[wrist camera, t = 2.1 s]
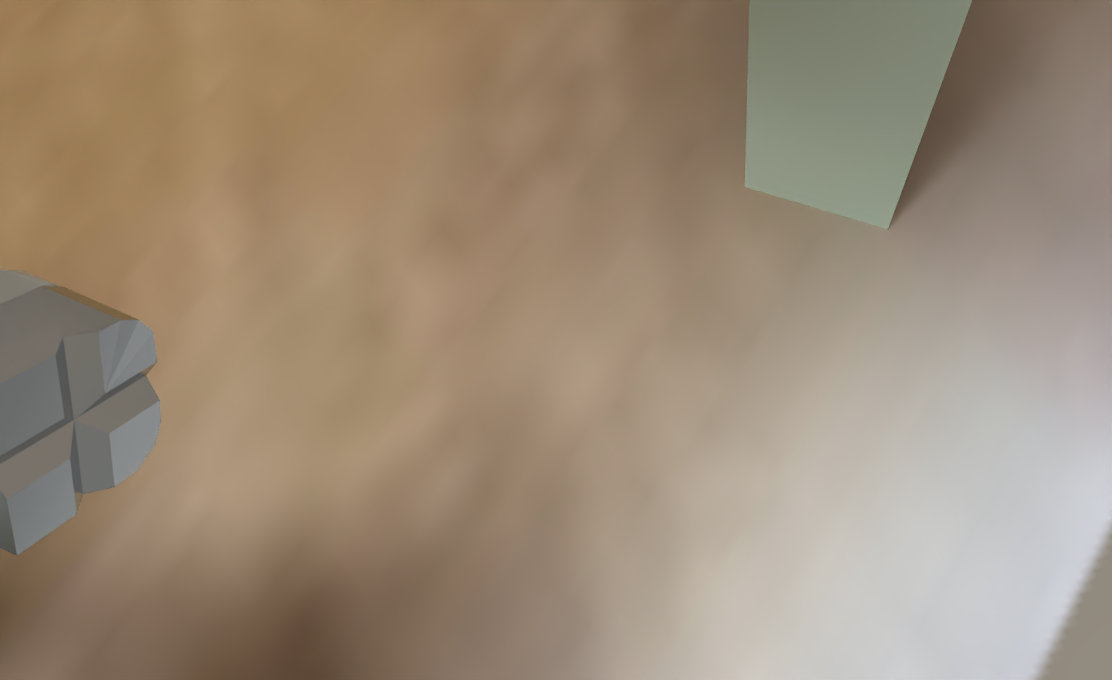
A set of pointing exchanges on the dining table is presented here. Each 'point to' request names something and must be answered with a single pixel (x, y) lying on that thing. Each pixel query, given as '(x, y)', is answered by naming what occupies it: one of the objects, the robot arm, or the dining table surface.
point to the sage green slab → (843, 97)
